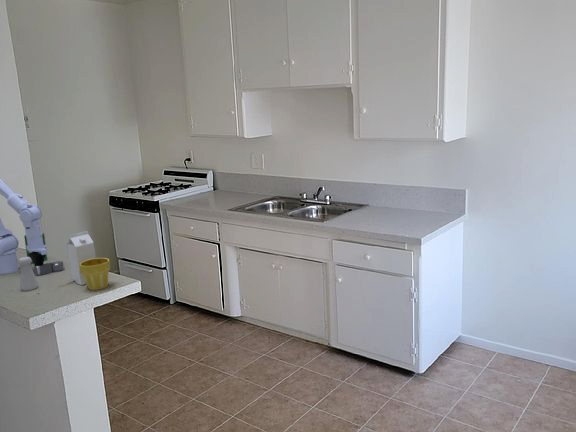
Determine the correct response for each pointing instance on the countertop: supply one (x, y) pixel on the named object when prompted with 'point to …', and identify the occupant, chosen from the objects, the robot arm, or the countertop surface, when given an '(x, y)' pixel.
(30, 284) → the salt shaker
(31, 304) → the countertop surface
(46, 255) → the coffee box
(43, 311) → the countertop surface
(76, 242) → the milk carton
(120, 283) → the countertop surface
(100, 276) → the plant pot
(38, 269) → the knob
